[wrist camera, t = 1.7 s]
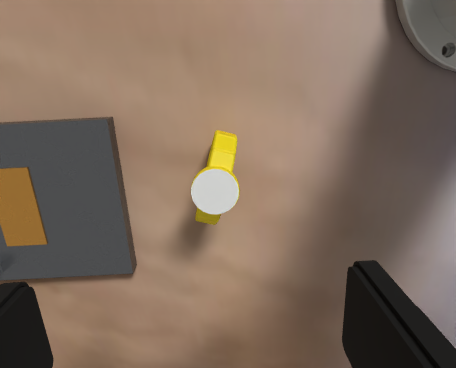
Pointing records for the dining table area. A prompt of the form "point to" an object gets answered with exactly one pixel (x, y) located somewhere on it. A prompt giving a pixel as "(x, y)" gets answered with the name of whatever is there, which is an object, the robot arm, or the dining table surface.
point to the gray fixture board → (62, 200)
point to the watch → (216, 180)
